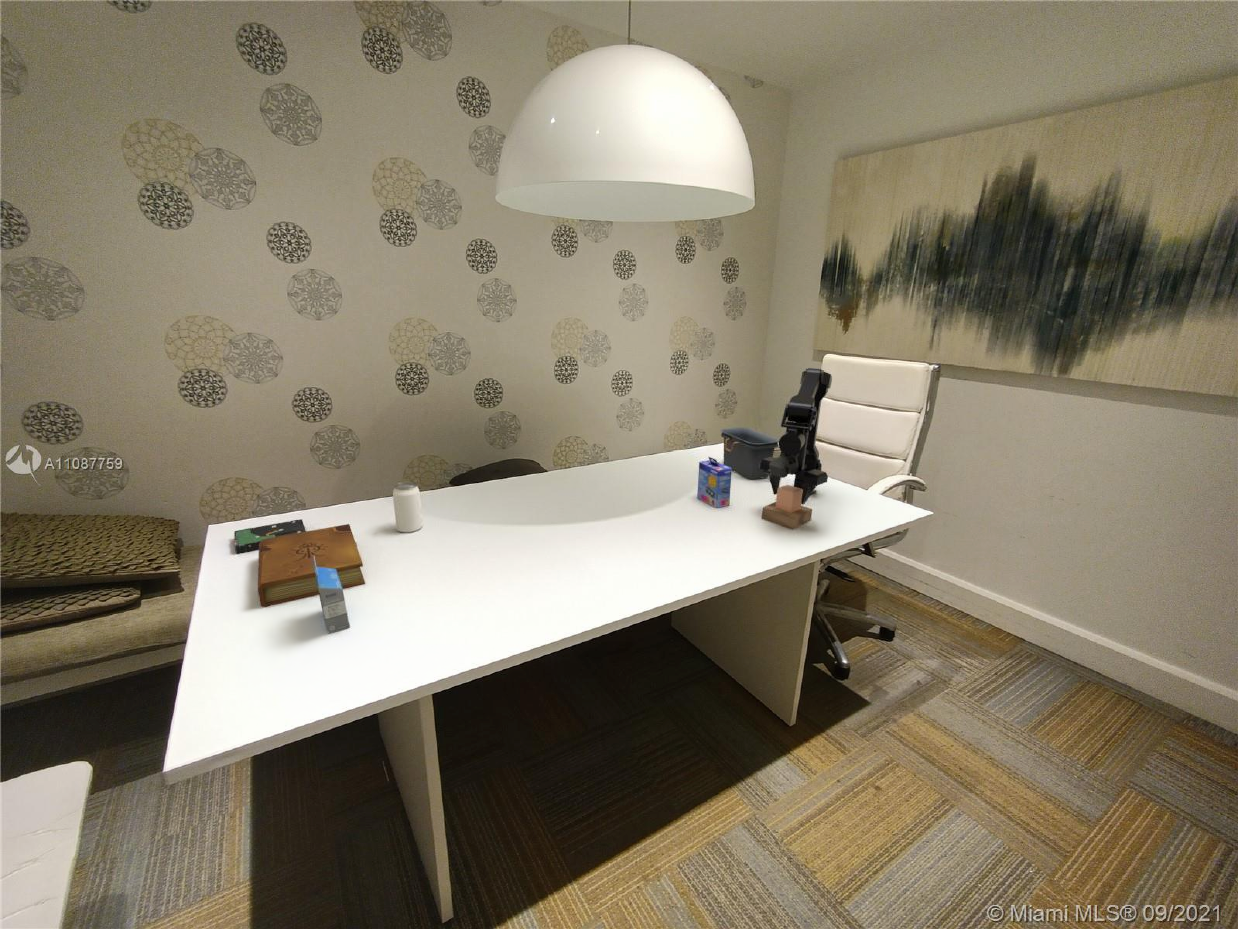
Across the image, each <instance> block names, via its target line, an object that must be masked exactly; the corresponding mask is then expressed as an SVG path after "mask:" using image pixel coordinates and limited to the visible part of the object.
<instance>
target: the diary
mask: <svg viewBox="0 0 1238 929" xmlns="http://www.w3.org/2000/svg"><path fill="white" fill-rule="evenodd" d="M314 555H315V562H316V567H323V568H331V569H336V570H337V573H338V576H339V579H340V582H341V585H342V589H343V590H346V589H351V588H355V587H359V586H363V585H364V586H365V585H366V581H365V578H364V575H363V573H362V572H363V571H362V567H363V566H364V565H363V564H364V563H363V560H362V558H361V554H360V551H359V549H358V546H357V543H356V540H355V536H354V534H353V531H352V528H351V524H350V523H348V524H347V523H346V524H340V525H337V526H336V525H335V526H330V527H325V528H318V529H313V530H308V531H307V530H306V532H301V533H295V534H289V535H284V536H278V537H272V538H267V539H262V541H261V542H260V543H259V550H258V559H257V560H258V562H257V563H258V564H257V567H258V568H257V586H256V587H257V588H256V589H257V593H258V594H257V595H258V599H259V603H260V606H261V607H262V608H267V607H268V608H269V607H271V606H276V605H281V604H285V603H289V602H293V601H298V600H302V599H306V598H311V597H315V596H319V591H318V586H317V581H316V576H315V571H314Z"/></svg>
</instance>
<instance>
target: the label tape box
mask: <svg viewBox="0 0 1238 929" xmlns="http://www.w3.org/2000/svg"><path fill="white" fill-rule="evenodd" d="M314 571H315V576H316V581H317V586H318V591H319V595H318V597H319V601H320V605H321V610H322V616H323V620H324V624H325V627H326V631H327V633H328V634H332V633H335V632H340V631H343V630H345V629H349V628H351V625H350V621H349V620H350V619H349V616H348V610H347V606H346V600H345V595H344V589H342V585H341V582H340V579H339V576H338V573H337V570H336V569H331V568H323V567H316V562H315V555H314Z"/></svg>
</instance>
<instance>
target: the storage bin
mask: <svg viewBox="0 0 1238 929" xmlns="http://www.w3.org/2000/svg"><path fill="white" fill-rule="evenodd" d="M720 432H721V434H720V437H722V438H723V465H726V466H728V467H730V468H732V471H733V472H735V473H736V474H738V475H740V476H742V477H744V478H746V479H748V480H758V479H765V478H766V479H767V478H769V476H768V475H767V474H766V473H764V472H763V469H760V468H759V465H760V461H761V460H762V459H765V458H769V457H774V453H775V448H779V440H780V438H779V439H778V438H776V437H774V436H771V435H768V434H765V433H764V432H760V431H758V430H755V429H753V428H750V427H745V426H744V427H742V426H741V427H739V426H738V427H729V428H722V429H720Z"/></svg>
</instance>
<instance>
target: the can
mask: <svg viewBox="0 0 1238 929" xmlns="http://www.w3.org/2000/svg"><path fill="white" fill-rule="evenodd" d="M393 488H394V489H393V492H392V498H393V499H392V500H393V508H394V517H395V518H394V519H395V527H396V530H397V531H398V532H400V533H403V534H404V533H405V534H407V533H409V534H410V533H414V532H418V531H419V530H421V529H422V527H423V517H422V516H423V515H422V505H421V503H422V502H421V493H420V489H419V487H418V484H417V483H415V482H414V481H412V482H411V481H406V482H405V481H404V482H400V483H396V484H394V486H393Z"/></svg>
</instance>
